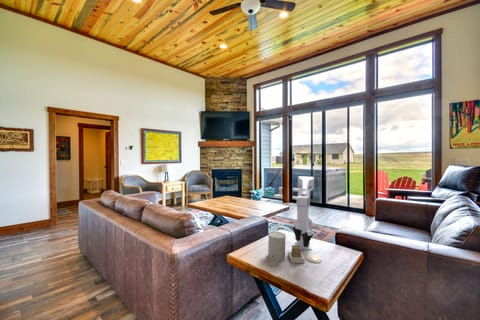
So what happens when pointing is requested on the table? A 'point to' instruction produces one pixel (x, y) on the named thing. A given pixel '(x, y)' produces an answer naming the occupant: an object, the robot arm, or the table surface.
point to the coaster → (313, 258)
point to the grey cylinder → (276, 246)
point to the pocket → (295, 258)
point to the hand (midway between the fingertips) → (301, 243)
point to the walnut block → (296, 251)
